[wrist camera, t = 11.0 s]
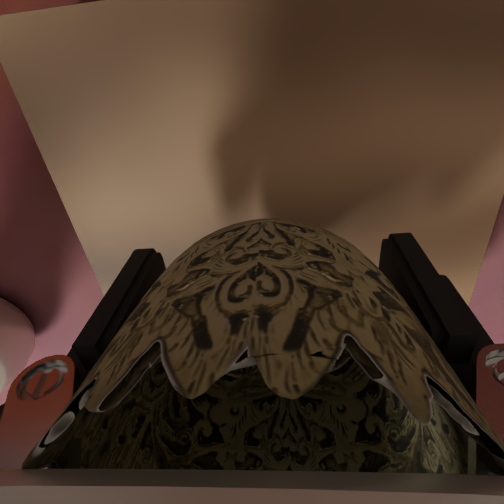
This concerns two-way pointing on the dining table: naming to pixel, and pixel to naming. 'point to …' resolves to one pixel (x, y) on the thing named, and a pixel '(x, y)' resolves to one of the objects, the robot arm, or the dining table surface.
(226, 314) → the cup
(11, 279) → the dining table surface
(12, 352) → the plastic bottle
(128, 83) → the walnut plinth
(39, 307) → the dining table surface
